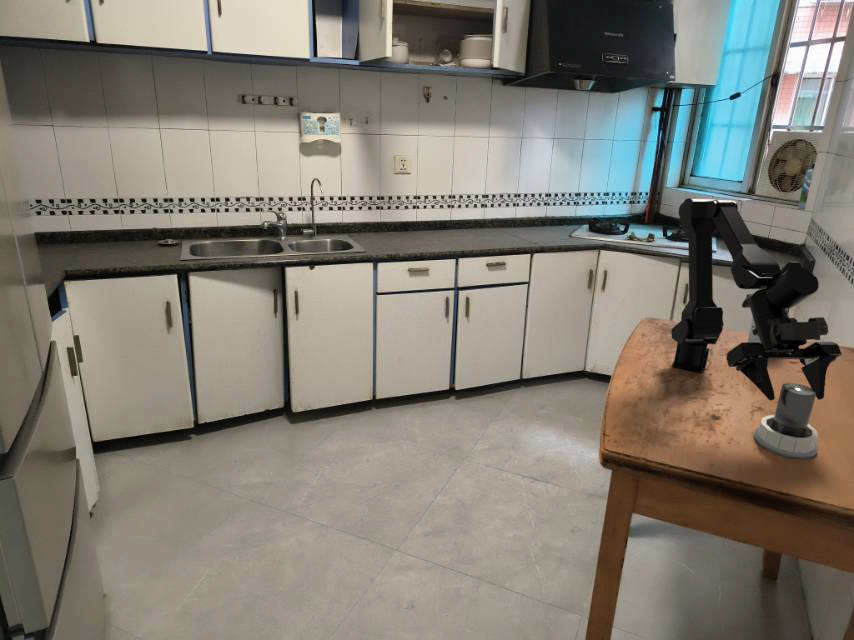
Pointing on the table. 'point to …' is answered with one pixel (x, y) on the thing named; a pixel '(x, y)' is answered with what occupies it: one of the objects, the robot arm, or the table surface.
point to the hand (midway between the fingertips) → (796, 399)
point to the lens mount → (786, 440)
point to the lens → (793, 410)
